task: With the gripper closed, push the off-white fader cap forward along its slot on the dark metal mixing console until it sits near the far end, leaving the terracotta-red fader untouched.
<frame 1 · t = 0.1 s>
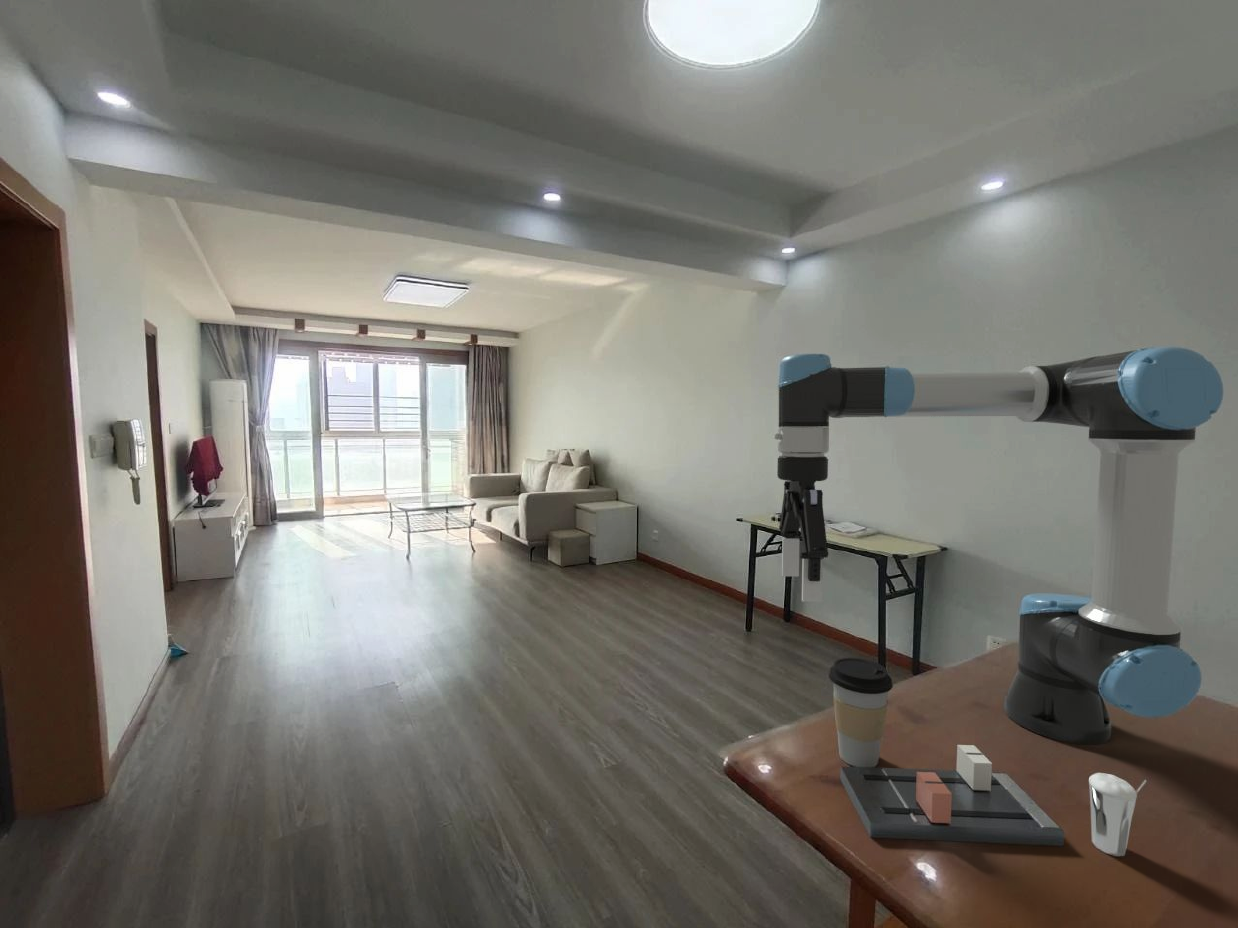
hand: (800, 587, 89), 28 cm above the table, fingers open, 13 cm apart
coffee cup: (857, 758, 90), on the table
fader a: (973, 766, 81), point 4 cm above the table, slide at 2.0 cm
fader b: (933, 796, 74), point 4 cm above the table, slide at 11.0 cm
console: (941, 809, 78), on the table
milkshake: (1112, 849, 71), on the table
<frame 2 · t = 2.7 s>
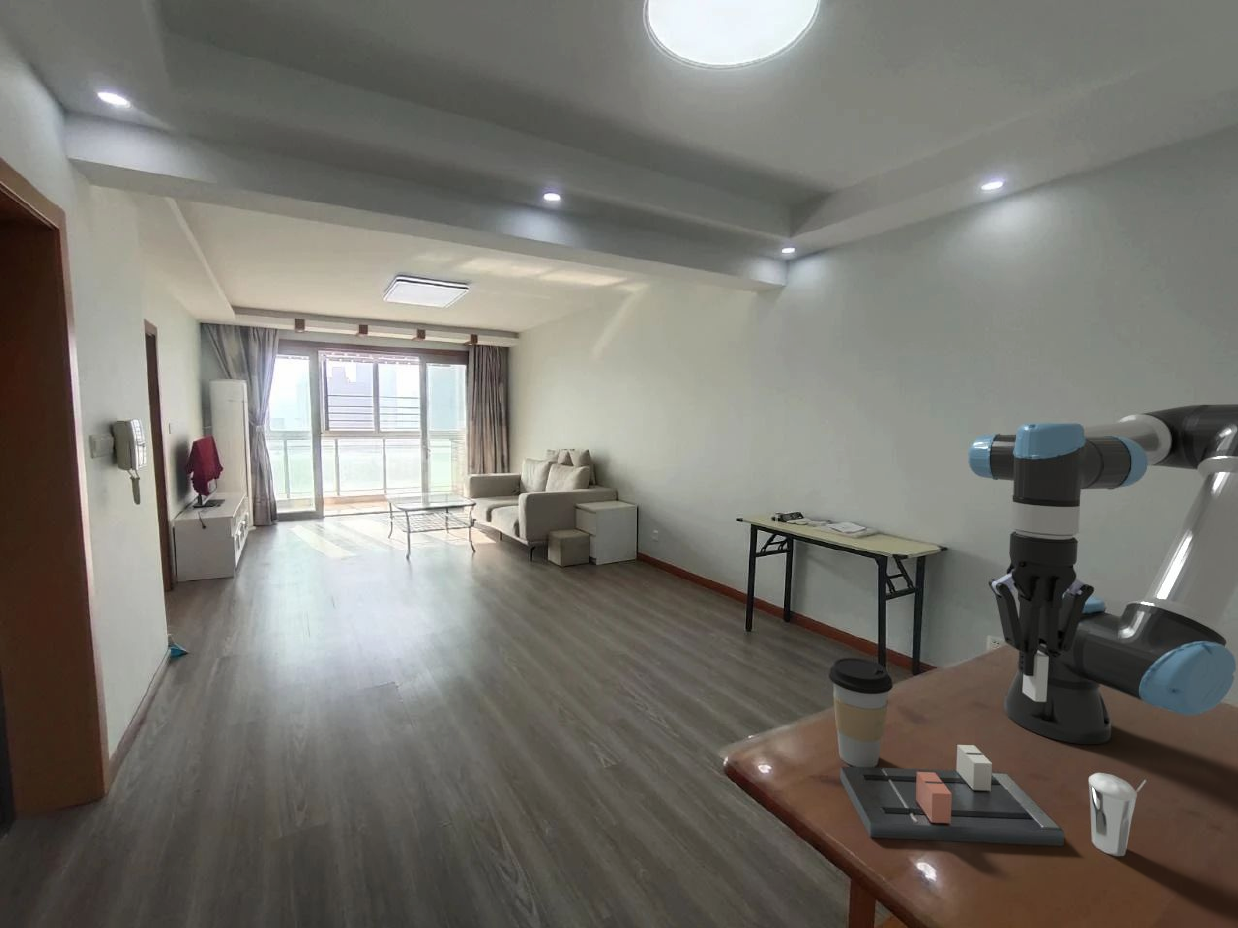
hand: (1034, 696, 79), 15 cm above the table, fingers closed
nothing on the table moved.
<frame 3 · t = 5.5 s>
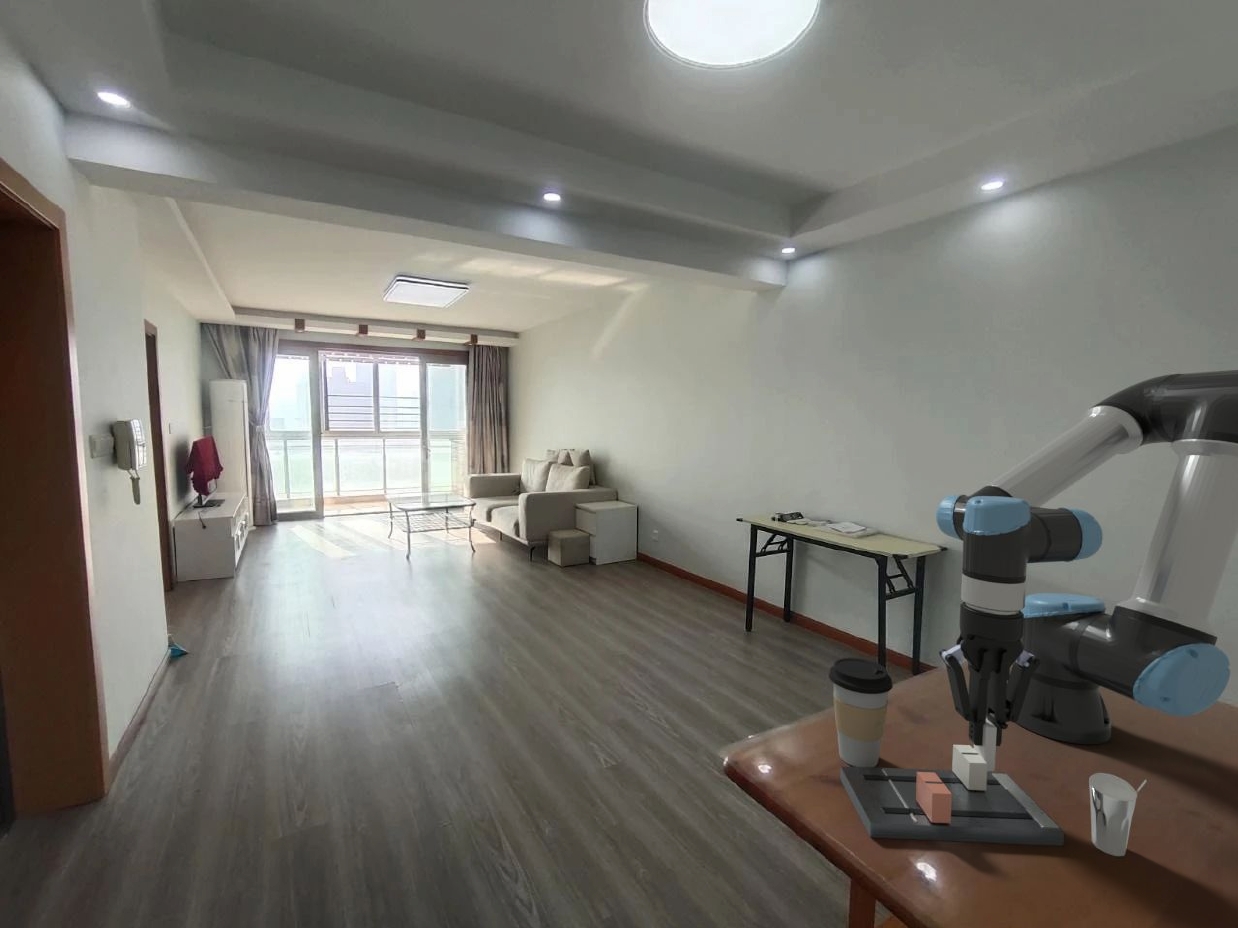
hand: (983, 765, 80), 5 cm above the table, fingers closed
fader a: (969, 766, 81), point 4 cm above the table, slide at 2.6 cm, touching gripper
everything else where it was.
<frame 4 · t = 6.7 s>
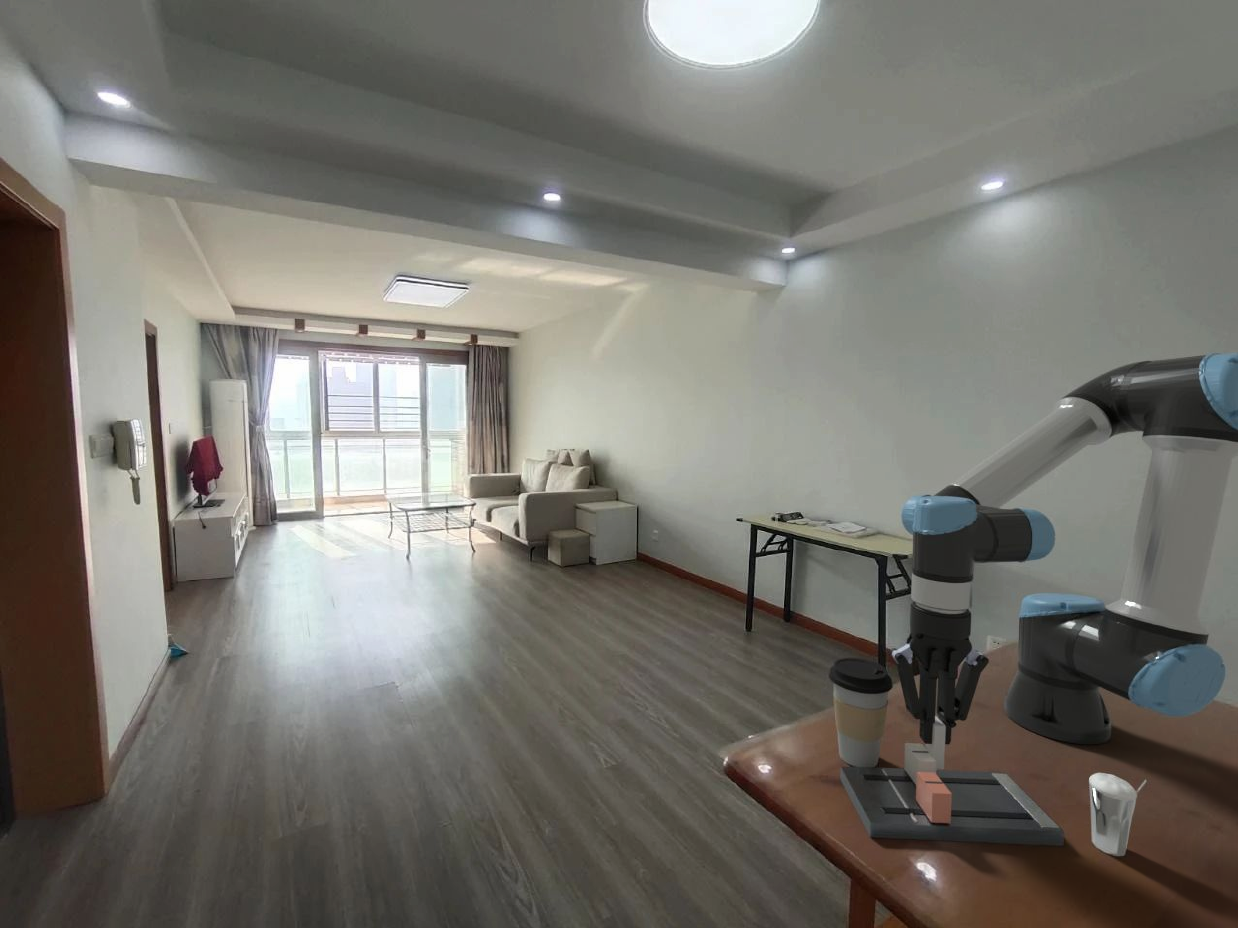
hand: (933, 763, 81), 5 cm above the table, fingers closed
fader a: (919, 764, 81), point 4 cm above the table, slide at 9.6 cm, touching gripper
everything else where it was.
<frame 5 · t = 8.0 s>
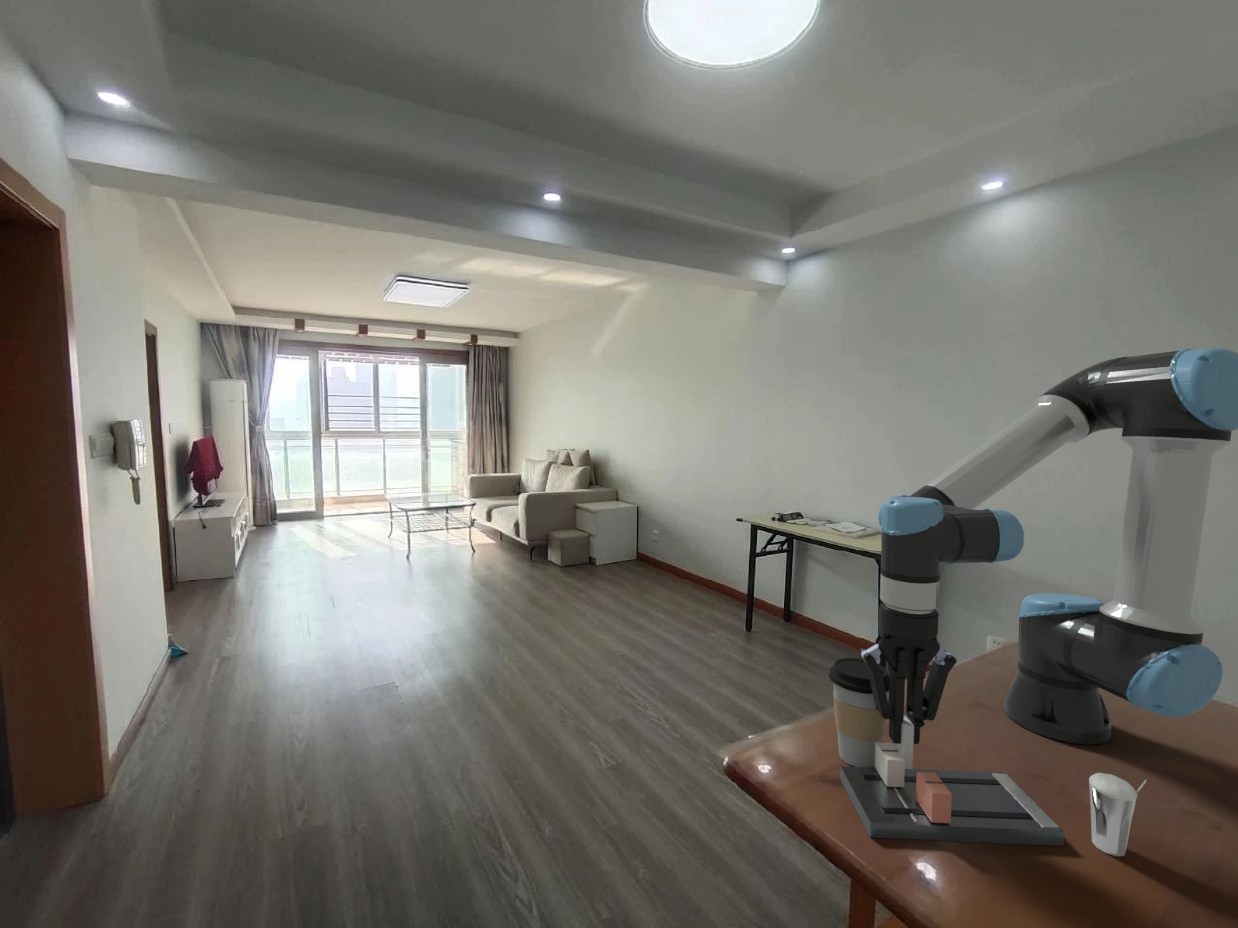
hand: (903, 762, 81), 4 cm above the table, fingers closed
fader a: (889, 763, 81), point 4 cm above the table, slide at 13.9 cm, touching gripper
everything else where it was.
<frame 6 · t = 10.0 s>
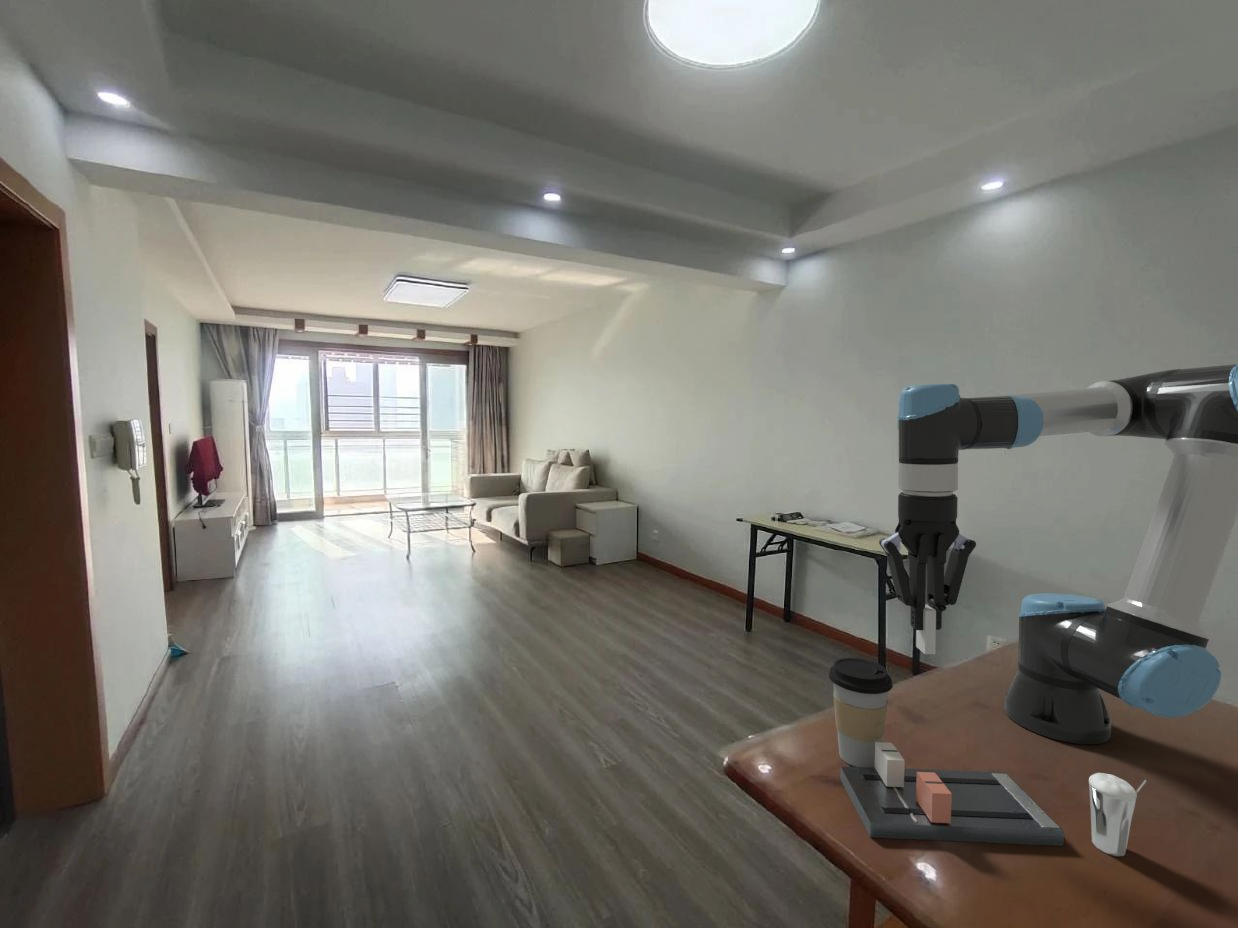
hand: (925, 650, 82), 21 cm above the table, fingers closed
fader a: (889, 763, 81), point 4 cm above the table, slide at 13.9 cm
everything else where it was.
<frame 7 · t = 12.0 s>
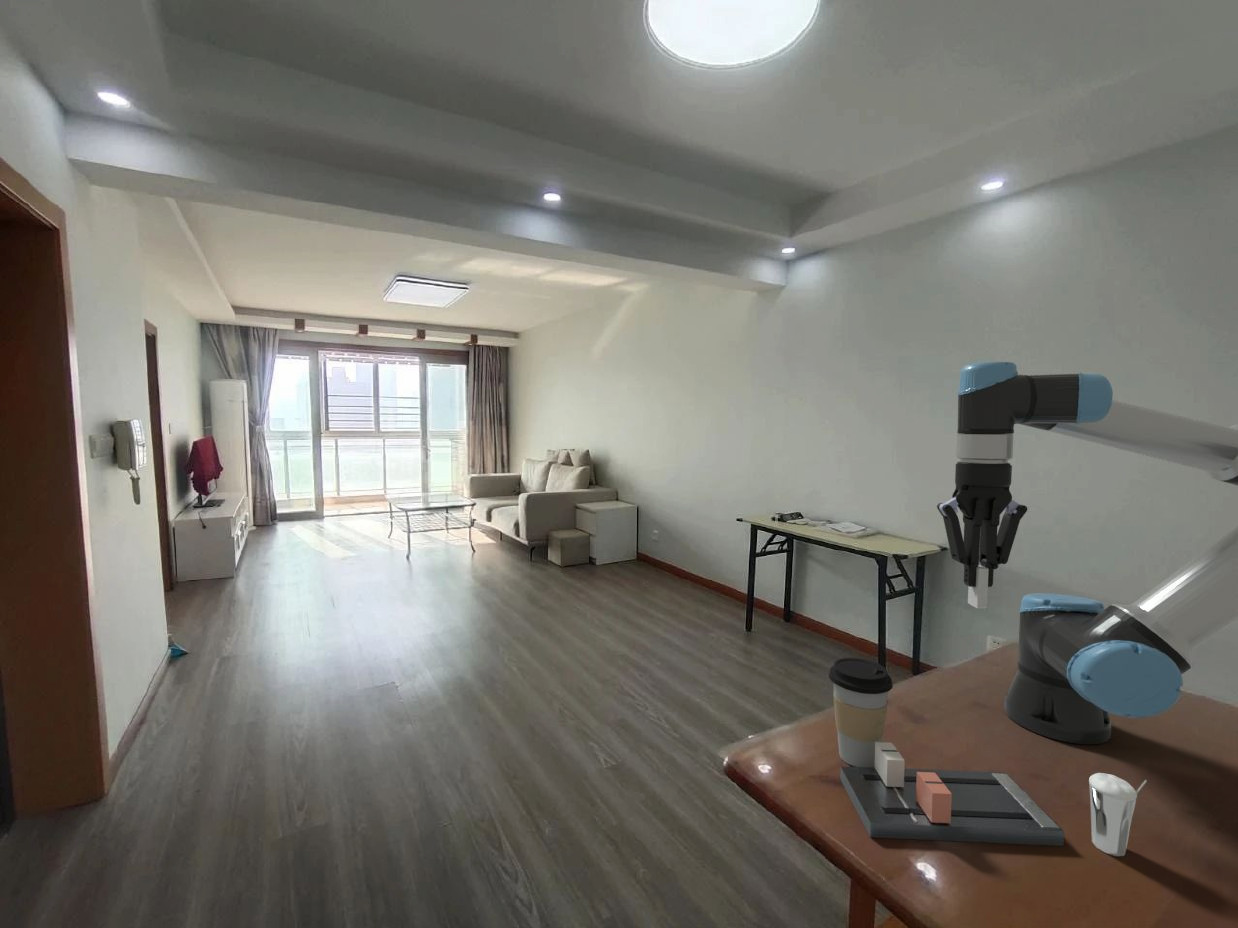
hand: (977, 605, 90), 24 cm above the table, fingers closed
nothing on the table moved.
at the end: fader a slide at 13.9 cm; fader b slide at 11.0 cm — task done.
